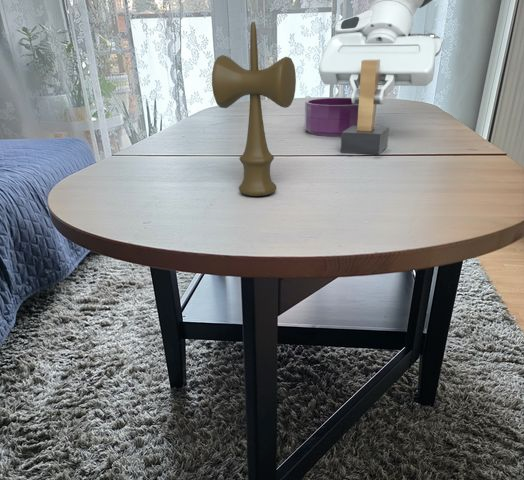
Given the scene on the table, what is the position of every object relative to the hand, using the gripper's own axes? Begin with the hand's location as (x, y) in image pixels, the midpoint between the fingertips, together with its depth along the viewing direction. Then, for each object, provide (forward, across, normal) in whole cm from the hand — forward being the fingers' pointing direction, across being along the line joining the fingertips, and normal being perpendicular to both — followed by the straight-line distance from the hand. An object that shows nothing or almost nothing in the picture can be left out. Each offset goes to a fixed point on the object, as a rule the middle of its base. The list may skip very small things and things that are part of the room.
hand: (366, 101), depth 89 cm
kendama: (+29, +6, +17) cm, 35 cm away
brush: (+5, 0, -6) cm, 8 cm away
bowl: (-8, +11, -20) cm, 24 cm away
